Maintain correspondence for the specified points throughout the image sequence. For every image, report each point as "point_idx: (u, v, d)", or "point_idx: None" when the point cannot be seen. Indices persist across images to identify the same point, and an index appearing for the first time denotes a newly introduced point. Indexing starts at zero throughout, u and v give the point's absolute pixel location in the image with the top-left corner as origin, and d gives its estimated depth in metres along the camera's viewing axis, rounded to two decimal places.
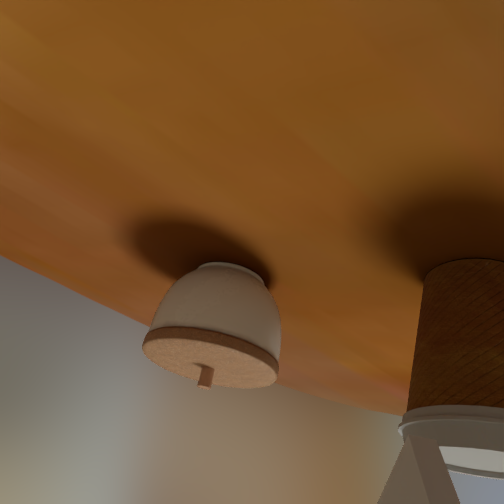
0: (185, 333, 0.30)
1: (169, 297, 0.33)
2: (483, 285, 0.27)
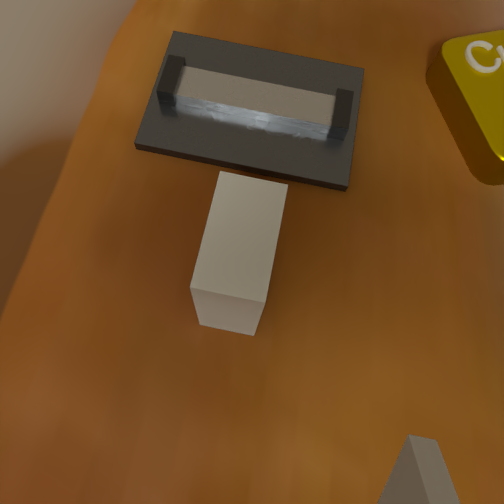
0: None
1: None
2: None
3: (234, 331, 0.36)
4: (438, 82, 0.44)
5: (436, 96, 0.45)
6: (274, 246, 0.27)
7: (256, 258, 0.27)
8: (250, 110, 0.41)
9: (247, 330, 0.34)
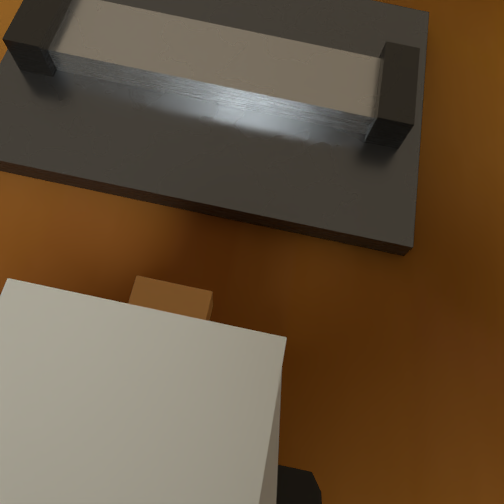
0: None
1: None
2: None
3: None
4: None
5: None
6: None
7: None
8: (206, 84, 0.20)
9: None
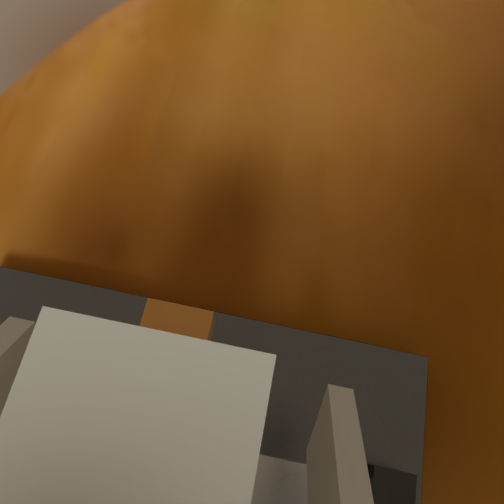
0: None
1: None
2: None
3: None
4: None
5: None
6: None
7: None
8: None
9: None
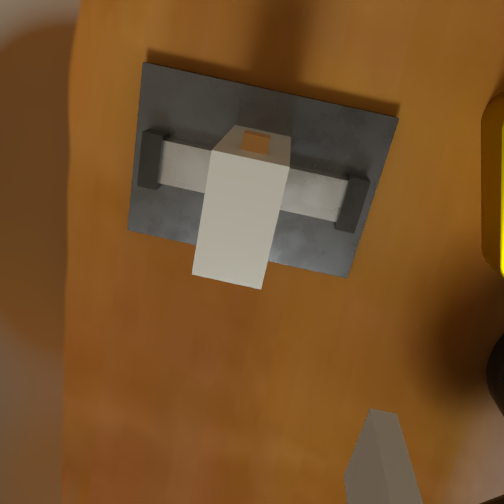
0: None
1: None
2: None
3: None
4: (488, 142, 0.33)
5: (483, 150, 0.35)
6: (271, 237, 0.27)
7: (253, 249, 0.27)
8: None
9: None
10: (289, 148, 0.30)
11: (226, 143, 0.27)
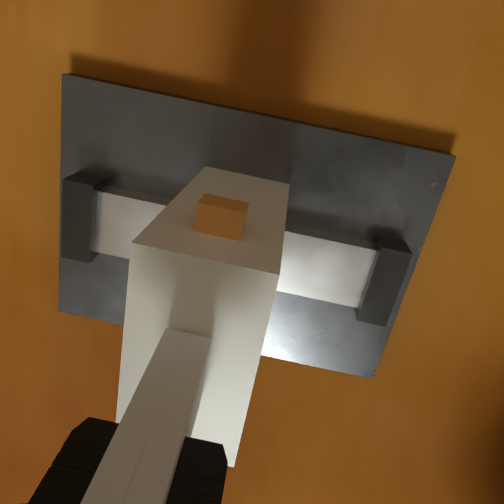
0: None
1: None
2: None
3: None
4: None
5: None
6: (248, 390, 0.15)
7: (217, 406, 0.15)
8: None
9: None
10: (284, 214, 0.18)
11: (171, 216, 0.16)
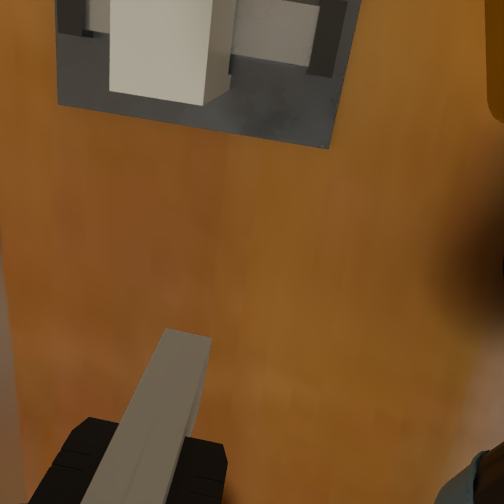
0: None
1: None
2: None
3: None
4: None
5: None
6: (208, 21, 0.19)
7: (186, 41, 0.20)
8: None
9: None
10: None
11: None
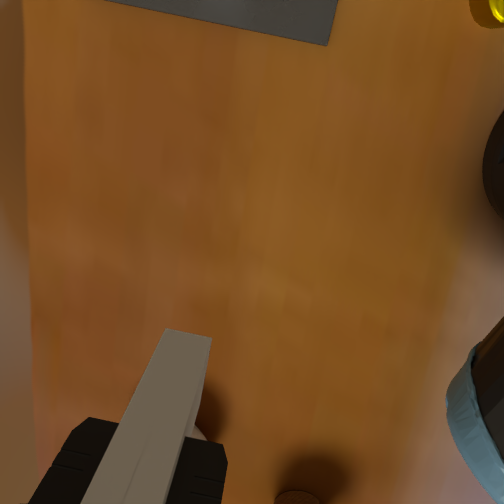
0: None
1: None
2: None
3: None
4: None
5: None
6: None
7: None
8: None
9: None
10: None
11: None
